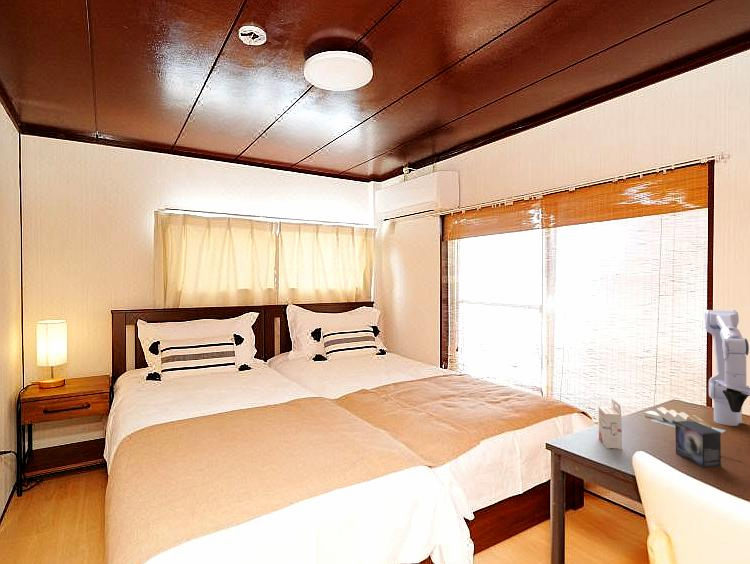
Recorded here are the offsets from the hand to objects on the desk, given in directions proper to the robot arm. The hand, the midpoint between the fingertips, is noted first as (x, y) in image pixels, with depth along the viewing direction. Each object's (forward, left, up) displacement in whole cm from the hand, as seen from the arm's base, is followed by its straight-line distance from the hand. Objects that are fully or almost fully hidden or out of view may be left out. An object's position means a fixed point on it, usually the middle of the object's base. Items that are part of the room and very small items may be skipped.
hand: (735, 411), depth 146 cm
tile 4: (+2, -18, -8) cm, 20 cm away
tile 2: (+2, -11, -8) cm, 13 cm away
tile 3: (+2, -14, -8) cm, 16 cm away
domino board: (+2, -14, -9) cm, 17 cm away
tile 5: (+2, -21, -8) cm, 23 cm away
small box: (+30, +1, -10) cm, 32 cm away
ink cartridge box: (+41, -20, -10) cm, 47 cm away
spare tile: (+2, -7, -8) cm, 11 cm away
